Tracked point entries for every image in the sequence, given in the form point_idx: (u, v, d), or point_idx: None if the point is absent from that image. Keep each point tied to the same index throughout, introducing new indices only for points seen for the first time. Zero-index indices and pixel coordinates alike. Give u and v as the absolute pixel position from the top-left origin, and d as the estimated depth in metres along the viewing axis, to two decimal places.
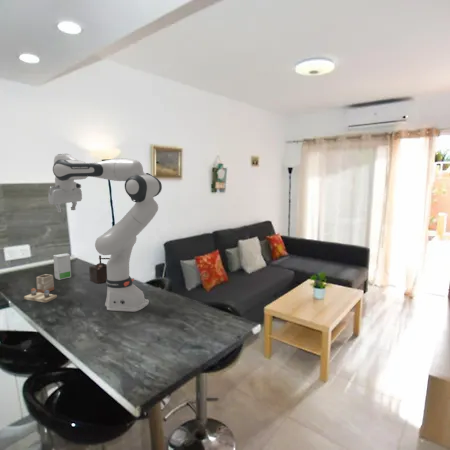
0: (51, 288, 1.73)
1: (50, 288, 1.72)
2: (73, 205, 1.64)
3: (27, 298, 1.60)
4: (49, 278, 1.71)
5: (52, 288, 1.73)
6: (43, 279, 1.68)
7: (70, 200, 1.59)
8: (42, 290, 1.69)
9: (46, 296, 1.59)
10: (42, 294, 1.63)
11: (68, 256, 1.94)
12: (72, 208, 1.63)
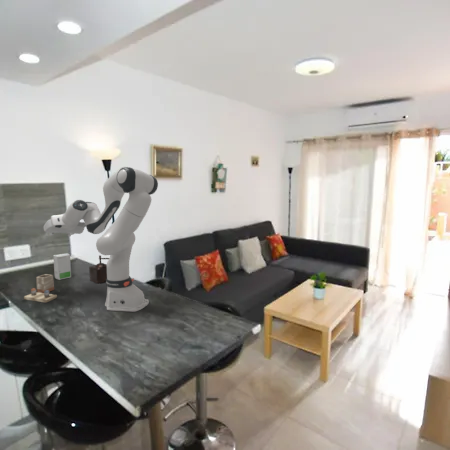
0: (51, 288, 1.73)
1: (50, 288, 1.72)
2: None
3: (27, 298, 1.60)
4: (49, 278, 1.71)
5: (52, 288, 1.73)
6: (43, 279, 1.68)
7: None
8: (42, 290, 1.69)
9: (46, 296, 1.59)
10: (42, 294, 1.63)
11: (68, 256, 1.94)
12: None
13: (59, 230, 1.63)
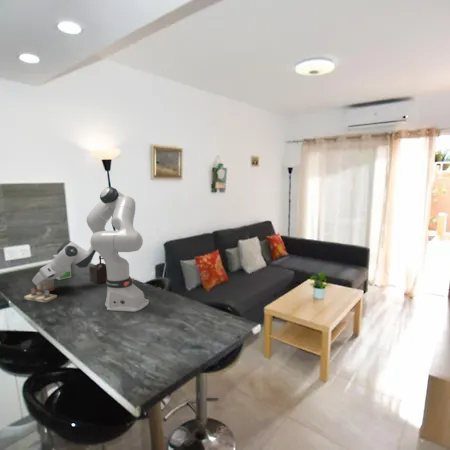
0: (51, 288, 1.72)
1: (50, 288, 1.72)
2: None
3: (27, 298, 1.60)
4: None
5: (52, 288, 1.73)
6: None
7: None
8: (42, 290, 1.69)
9: (46, 296, 1.59)
10: (42, 294, 1.63)
11: None
12: None
13: (48, 279, 1.67)
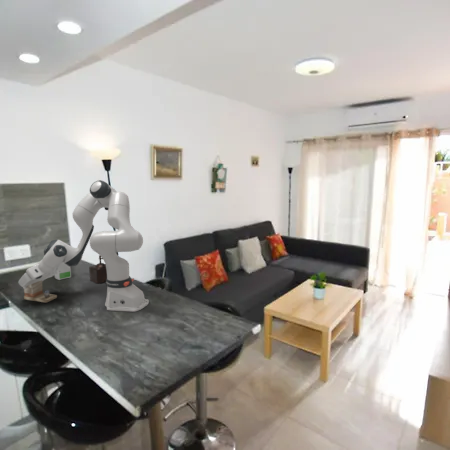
0: (39, 292, 1.63)
1: (38, 292, 1.62)
2: None
3: (27, 298, 1.60)
4: None
5: (40, 292, 1.64)
6: None
7: None
8: (30, 294, 1.59)
9: (46, 296, 1.59)
10: (42, 294, 1.63)
11: None
12: None
13: (36, 280, 1.57)
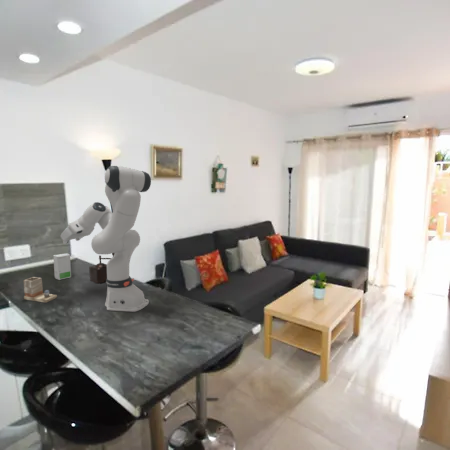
0: (39, 292, 1.63)
1: (38, 292, 1.62)
2: None
3: (27, 298, 1.60)
4: (37, 281, 1.61)
5: (41, 292, 1.63)
6: (31, 282, 1.58)
7: None
8: (30, 294, 1.59)
9: (46, 296, 1.59)
10: (42, 294, 1.63)
11: (68, 256, 1.94)
12: None
13: (75, 236, 1.65)
